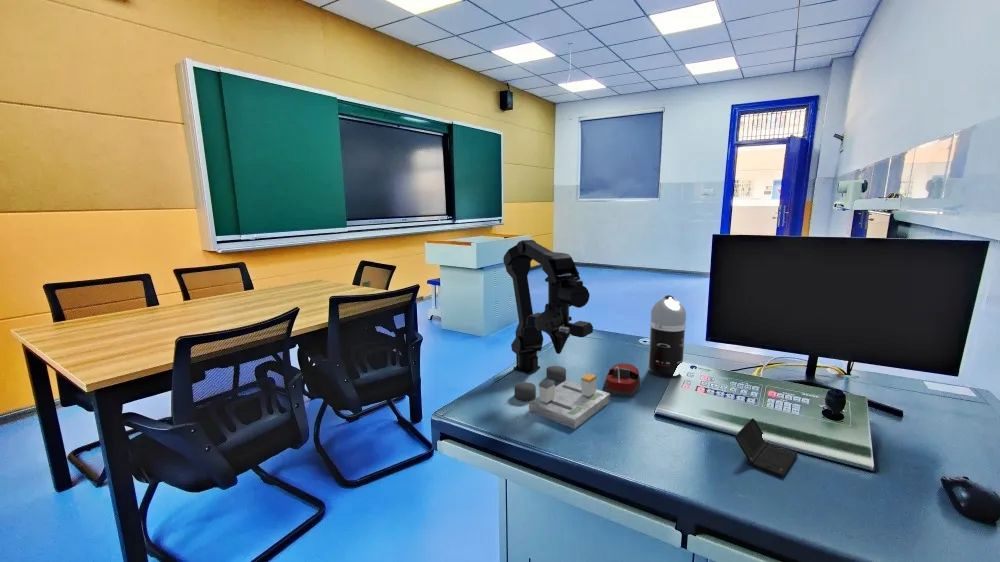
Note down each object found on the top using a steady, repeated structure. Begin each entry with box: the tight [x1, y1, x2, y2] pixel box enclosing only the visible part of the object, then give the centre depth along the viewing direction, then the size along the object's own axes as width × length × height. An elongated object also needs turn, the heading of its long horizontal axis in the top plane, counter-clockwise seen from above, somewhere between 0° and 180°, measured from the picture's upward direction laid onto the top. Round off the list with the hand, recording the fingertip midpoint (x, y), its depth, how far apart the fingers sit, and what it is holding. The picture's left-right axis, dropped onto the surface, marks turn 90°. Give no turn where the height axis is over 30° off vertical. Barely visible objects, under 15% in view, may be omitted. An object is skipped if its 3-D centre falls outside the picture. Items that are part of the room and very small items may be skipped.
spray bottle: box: [648, 294, 687, 378], centre depth 132 cm, size 10×10×25 cm
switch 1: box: [538, 378, 556, 403], centre depth 112 cm, size 2×4×5 cm
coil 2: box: [546, 365, 567, 384], centre depth 131 cm, size 6×6×3 cm
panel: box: [528, 379, 611, 430], centre depth 114 cm, size 14×18×3 cm
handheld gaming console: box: [734, 417, 798, 479], centre depth 90 cm, size 12×7×10 cm
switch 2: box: [580, 373, 597, 397], centre depth 115 cm, size 2×4×5 cm
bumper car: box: [603, 362, 641, 399], centre depth 124 cm, size 10×20×10 cm, turn 156°
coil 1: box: [514, 381, 537, 402], centre depth 120 cm, size 6×6×3 cm
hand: (558, 353), depth 120 cm, fingers closed
